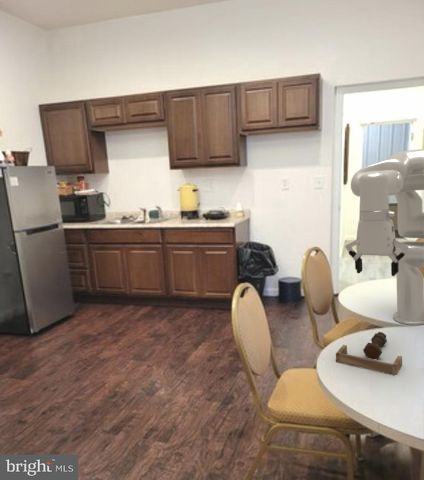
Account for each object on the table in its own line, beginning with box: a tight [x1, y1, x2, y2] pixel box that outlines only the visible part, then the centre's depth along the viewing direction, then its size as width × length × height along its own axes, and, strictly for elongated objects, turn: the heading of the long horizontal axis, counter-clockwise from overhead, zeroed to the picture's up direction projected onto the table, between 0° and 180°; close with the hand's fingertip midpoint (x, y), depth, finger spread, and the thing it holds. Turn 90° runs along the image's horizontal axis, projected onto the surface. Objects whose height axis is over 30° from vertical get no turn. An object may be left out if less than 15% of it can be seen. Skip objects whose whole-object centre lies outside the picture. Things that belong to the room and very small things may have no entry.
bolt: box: [362, 331, 387, 360], centre depth 129 cm, size 6×5×15 cm
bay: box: [335, 344, 403, 376], centre depth 121 cm, size 7×18×3 cm, turn 52°
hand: (376, 273), depth 111 cm, fingers open, 9 cm apart
